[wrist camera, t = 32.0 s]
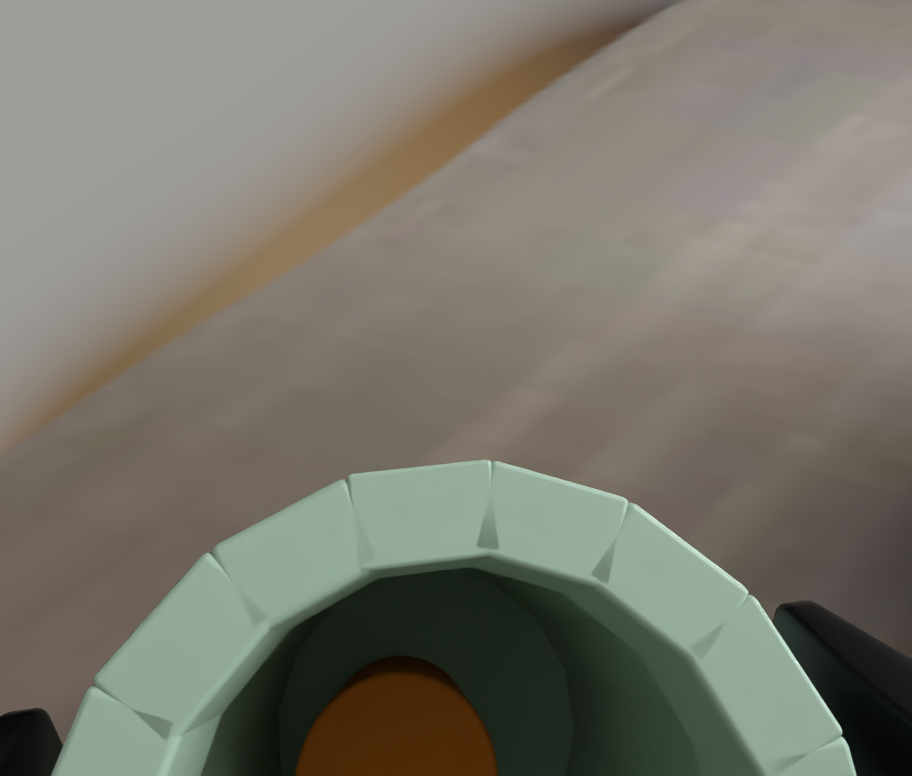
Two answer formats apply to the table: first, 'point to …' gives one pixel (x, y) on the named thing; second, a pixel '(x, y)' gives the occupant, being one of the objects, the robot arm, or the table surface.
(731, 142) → the table surface
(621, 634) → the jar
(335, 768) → the cylinder
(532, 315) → the table surface
